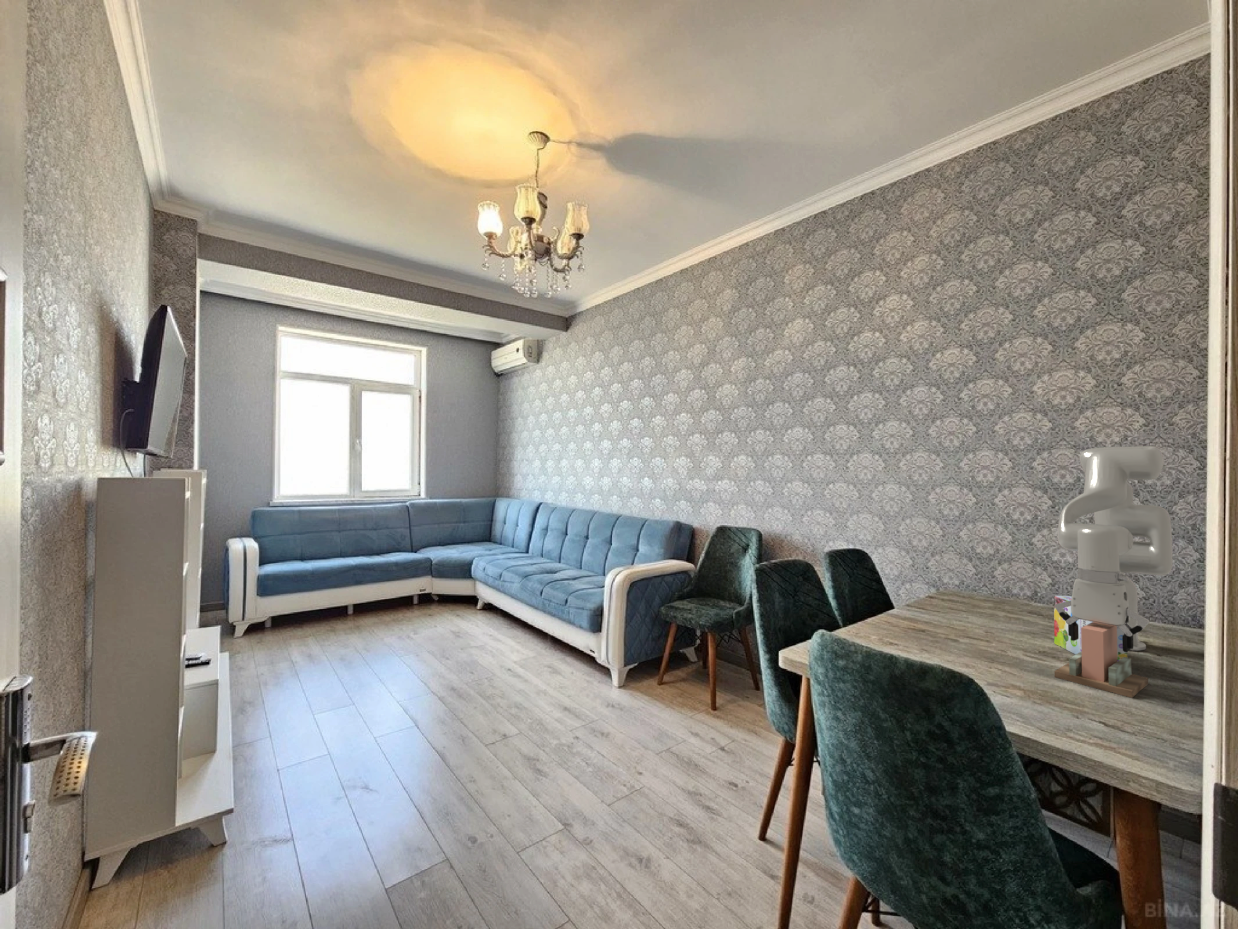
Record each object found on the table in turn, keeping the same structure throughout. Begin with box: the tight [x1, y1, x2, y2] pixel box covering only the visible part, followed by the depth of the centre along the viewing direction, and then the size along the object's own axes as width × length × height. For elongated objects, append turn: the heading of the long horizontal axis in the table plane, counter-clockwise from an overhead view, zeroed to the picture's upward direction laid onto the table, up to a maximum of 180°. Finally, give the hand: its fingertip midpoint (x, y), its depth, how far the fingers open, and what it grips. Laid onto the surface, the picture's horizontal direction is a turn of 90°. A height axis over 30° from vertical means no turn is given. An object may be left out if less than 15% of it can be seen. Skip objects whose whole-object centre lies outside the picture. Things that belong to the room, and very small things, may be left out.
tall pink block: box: [1081, 622, 1118, 682], centre depth 124 cm, size 11×4×12 cm, turn 123°
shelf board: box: [1053, 651, 1149, 699], centre depth 124 cm, size 14×14×6 cm
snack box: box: [1053, 595, 1128, 661], centre depth 140 cm, size 21×6×15 cm, turn 168°
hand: (1099, 645), depth 124 cm, fingers open, 9 cm apart
